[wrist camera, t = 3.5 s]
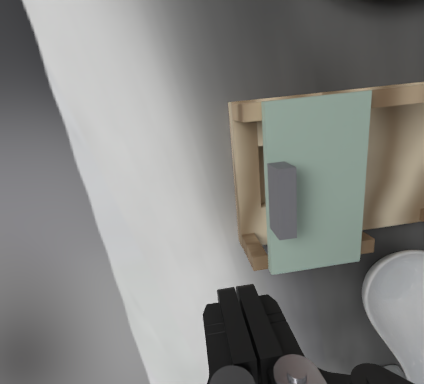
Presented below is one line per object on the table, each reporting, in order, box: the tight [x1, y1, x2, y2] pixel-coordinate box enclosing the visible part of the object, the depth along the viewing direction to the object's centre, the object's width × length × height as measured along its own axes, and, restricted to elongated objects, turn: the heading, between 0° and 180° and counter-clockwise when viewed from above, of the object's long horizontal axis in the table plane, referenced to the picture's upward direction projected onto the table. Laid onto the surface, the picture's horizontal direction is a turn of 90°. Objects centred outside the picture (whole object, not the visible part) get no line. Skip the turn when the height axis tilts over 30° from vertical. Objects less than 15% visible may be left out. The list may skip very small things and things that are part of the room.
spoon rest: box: [362, 250, 424, 384], centre depth 37 cm, size 24×12×7 cm, turn 10°
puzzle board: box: [228, 82, 424, 271], centre depth 29 cm, size 24×16×7 cm
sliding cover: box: [261, 90, 372, 275], centre depth 24 cm, size 9×16×4 cm, turn 6°
